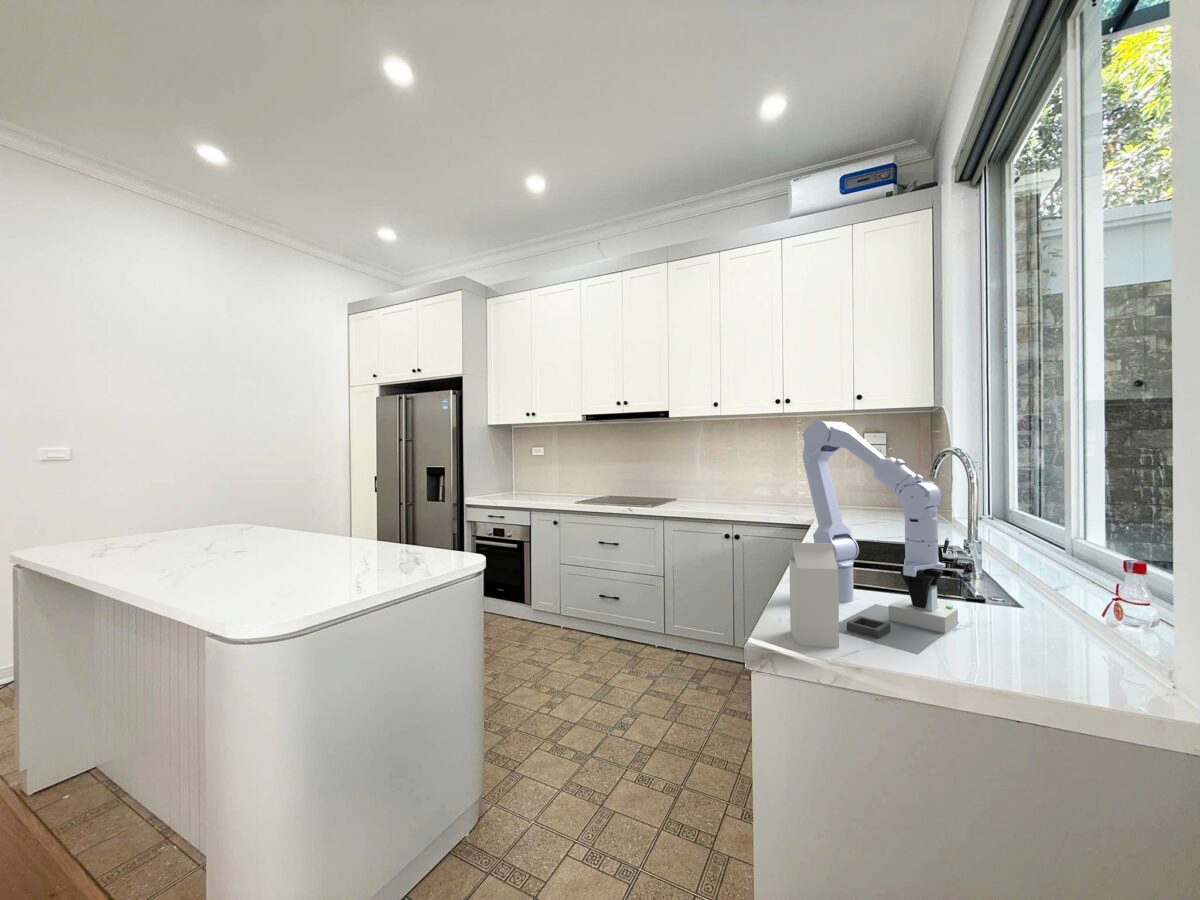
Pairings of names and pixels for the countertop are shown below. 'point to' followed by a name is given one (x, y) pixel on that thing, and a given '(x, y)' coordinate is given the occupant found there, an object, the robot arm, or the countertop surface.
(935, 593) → the plug
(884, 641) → the panel
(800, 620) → the milk carton
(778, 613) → the countertop surface
